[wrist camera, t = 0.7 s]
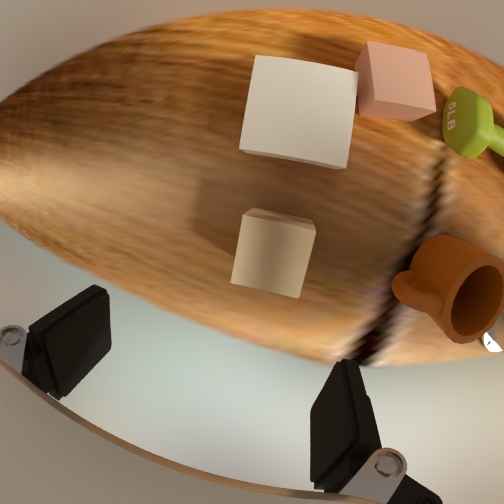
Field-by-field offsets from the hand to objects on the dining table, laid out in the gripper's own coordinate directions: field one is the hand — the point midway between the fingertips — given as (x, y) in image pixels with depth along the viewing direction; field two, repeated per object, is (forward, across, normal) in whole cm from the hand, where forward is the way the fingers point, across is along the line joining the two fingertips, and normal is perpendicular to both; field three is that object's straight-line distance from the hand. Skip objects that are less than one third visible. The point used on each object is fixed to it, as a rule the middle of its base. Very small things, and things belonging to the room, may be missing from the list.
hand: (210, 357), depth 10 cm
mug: (+19, -19, -2) cm, 27 cm away
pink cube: (+19, -9, -19) cm, 28 cm away
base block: (+20, -1, -13) cm, 24 cm away
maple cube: (+20, -1, 0) cm, 20 cm away
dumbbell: (+20, -24, -19) cm, 36 cm away
